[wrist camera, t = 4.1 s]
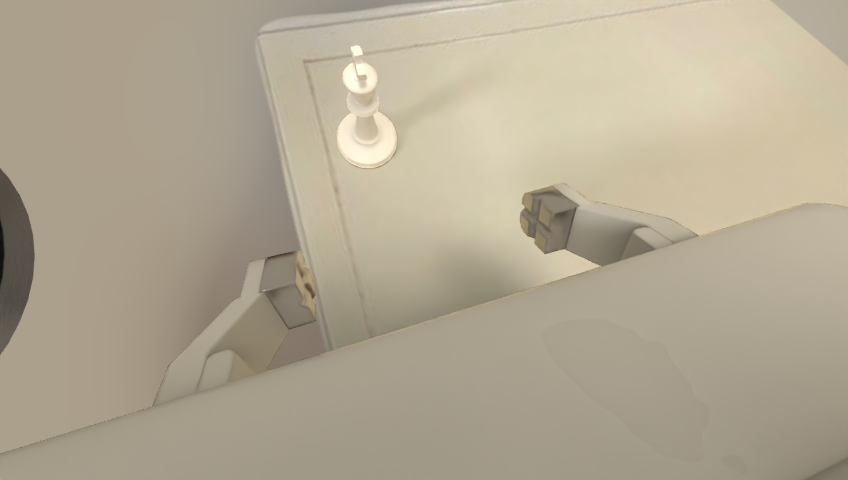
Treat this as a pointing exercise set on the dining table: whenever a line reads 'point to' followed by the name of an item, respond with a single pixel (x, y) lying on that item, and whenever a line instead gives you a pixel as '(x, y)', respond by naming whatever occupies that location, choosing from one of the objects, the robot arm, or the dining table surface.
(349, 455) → the robot arm
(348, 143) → the chess piece
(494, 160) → the dining table surface
